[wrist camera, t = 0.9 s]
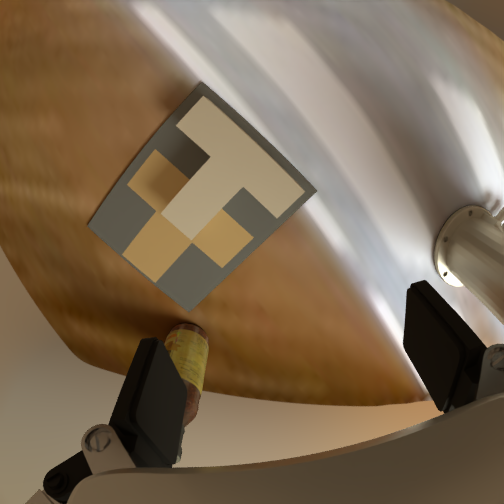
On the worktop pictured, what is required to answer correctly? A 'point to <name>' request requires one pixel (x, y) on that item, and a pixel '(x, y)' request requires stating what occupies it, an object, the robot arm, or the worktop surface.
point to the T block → (226, 171)
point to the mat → (165, 233)
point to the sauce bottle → (189, 366)
